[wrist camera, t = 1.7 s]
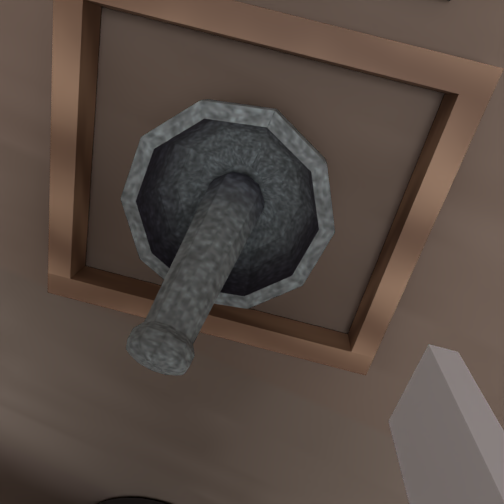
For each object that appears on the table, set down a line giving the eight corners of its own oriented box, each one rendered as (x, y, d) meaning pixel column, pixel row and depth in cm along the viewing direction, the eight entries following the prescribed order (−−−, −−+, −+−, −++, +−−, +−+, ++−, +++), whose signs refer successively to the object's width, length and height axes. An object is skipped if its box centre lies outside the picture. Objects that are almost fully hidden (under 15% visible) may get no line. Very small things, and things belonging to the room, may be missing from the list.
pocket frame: (361, 356, 28) (365, 375, 26) (63, 278, 28) (47, 292, 26) (485, 69, 20) (503, 68, 19) (75, -34, 21) (54, -46, 19)
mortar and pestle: (206, 64, 22) (110, 43, 11) (355, 141, 22) (408, 194, 11) (142, 234, 26) (29, 341, 15) (268, 293, 27) (247, 437, 16)
